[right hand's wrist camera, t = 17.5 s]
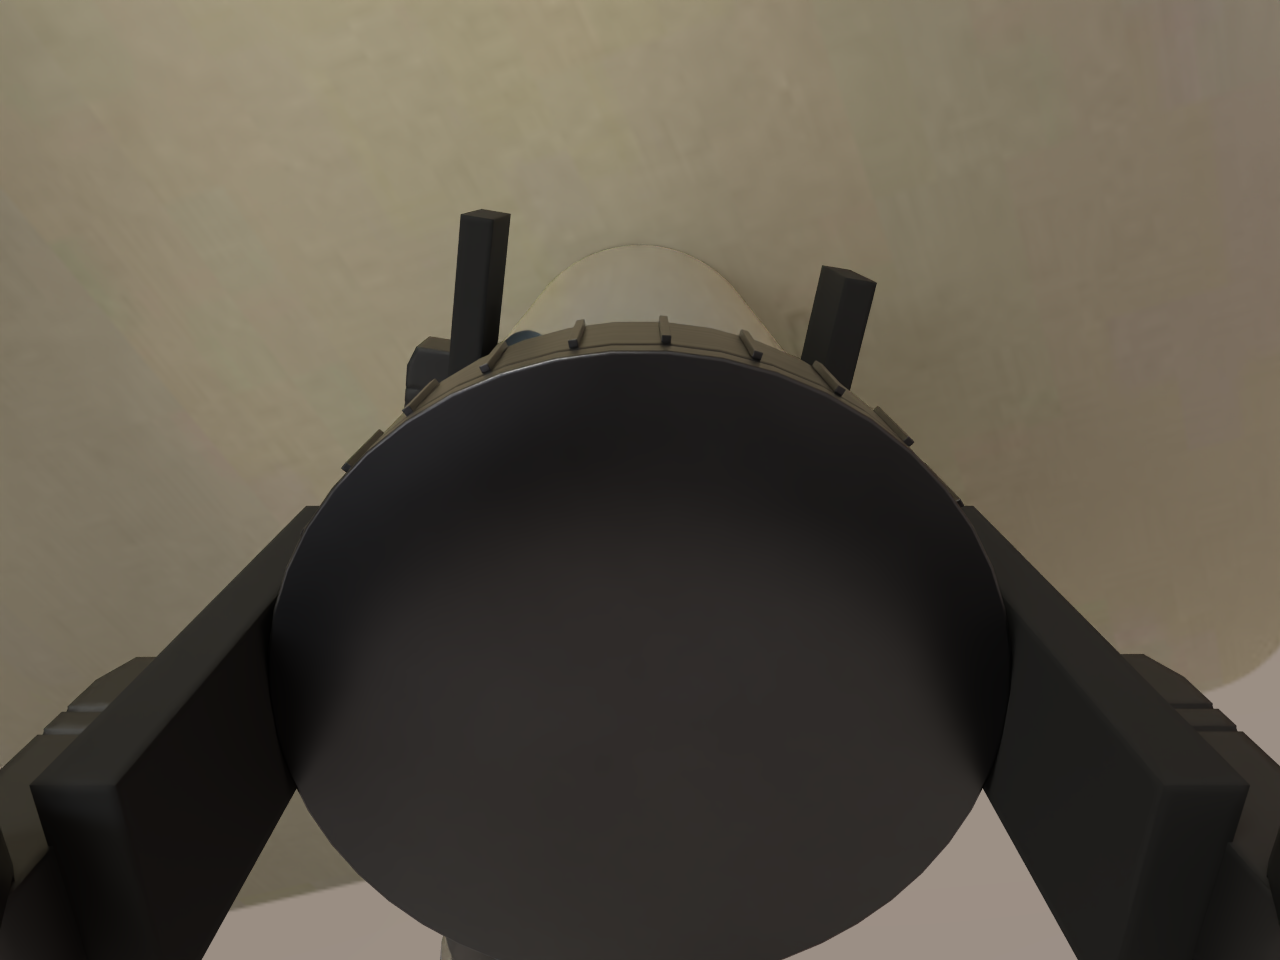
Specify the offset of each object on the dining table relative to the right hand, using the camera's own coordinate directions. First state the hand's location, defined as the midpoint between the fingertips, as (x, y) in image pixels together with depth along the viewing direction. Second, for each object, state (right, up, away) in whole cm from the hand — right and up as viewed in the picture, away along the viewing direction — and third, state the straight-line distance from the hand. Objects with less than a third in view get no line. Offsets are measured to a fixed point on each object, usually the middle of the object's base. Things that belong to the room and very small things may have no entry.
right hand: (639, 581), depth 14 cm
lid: (0, -1, -3) cm, 3 cm away
